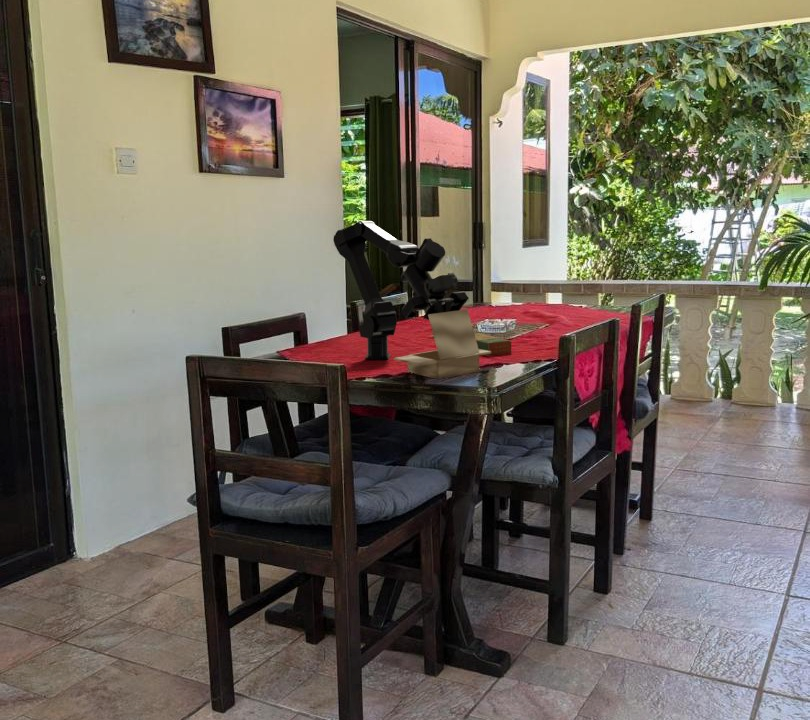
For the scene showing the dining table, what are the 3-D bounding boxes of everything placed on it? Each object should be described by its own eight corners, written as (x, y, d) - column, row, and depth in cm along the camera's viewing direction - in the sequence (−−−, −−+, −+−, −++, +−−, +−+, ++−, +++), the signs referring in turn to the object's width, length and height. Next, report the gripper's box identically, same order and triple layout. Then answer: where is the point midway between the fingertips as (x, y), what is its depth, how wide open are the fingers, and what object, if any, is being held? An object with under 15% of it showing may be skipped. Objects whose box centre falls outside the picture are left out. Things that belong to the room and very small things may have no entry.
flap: (427, 314, 208) (429, 314, 208) (466, 309, 217) (467, 309, 216) (440, 359, 207) (441, 359, 207) (478, 353, 215) (479, 352, 215)
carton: (480, 346, 255) (480, 332, 255) (512, 354, 242) (512, 339, 241) (457, 348, 251) (457, 334, 251) (488, 357, 238) (488, 342, 237)
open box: (392, 374, 214) (392, 357, 213) (460, 362, 229) (460, 346, 228) (423, 382, 205) (423, 364, 204) (492, 368, 220) (492, 351, 219)
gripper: (408, 265, 207) (439, 314, 201) (463, 260, 219) (493, 306, 213) (389, 294, 215) (417, 342, 208) (443, 288, 226) (471, 333, 220)
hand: (451, 330), depth 212 cm, fingers closed, pressing on flap
